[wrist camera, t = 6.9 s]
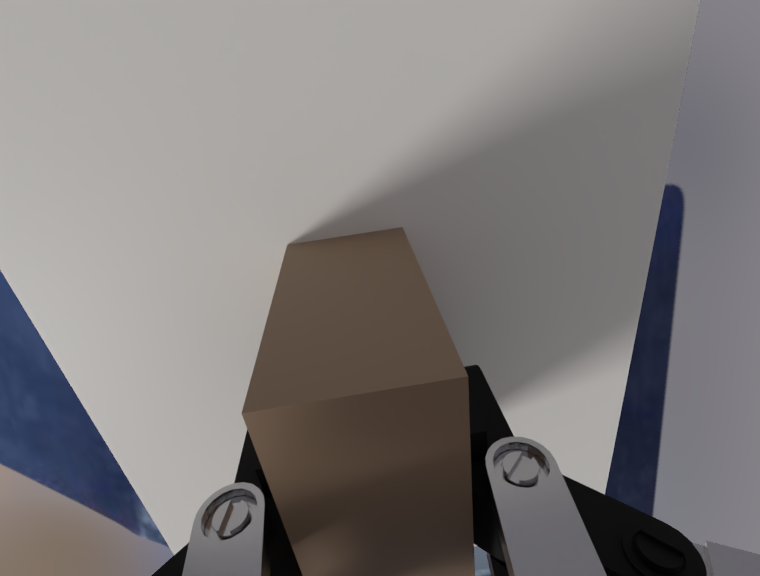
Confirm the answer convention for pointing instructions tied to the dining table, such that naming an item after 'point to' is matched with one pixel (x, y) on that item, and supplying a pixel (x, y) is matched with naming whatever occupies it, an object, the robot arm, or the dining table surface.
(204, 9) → the lid
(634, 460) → the dining table surface
